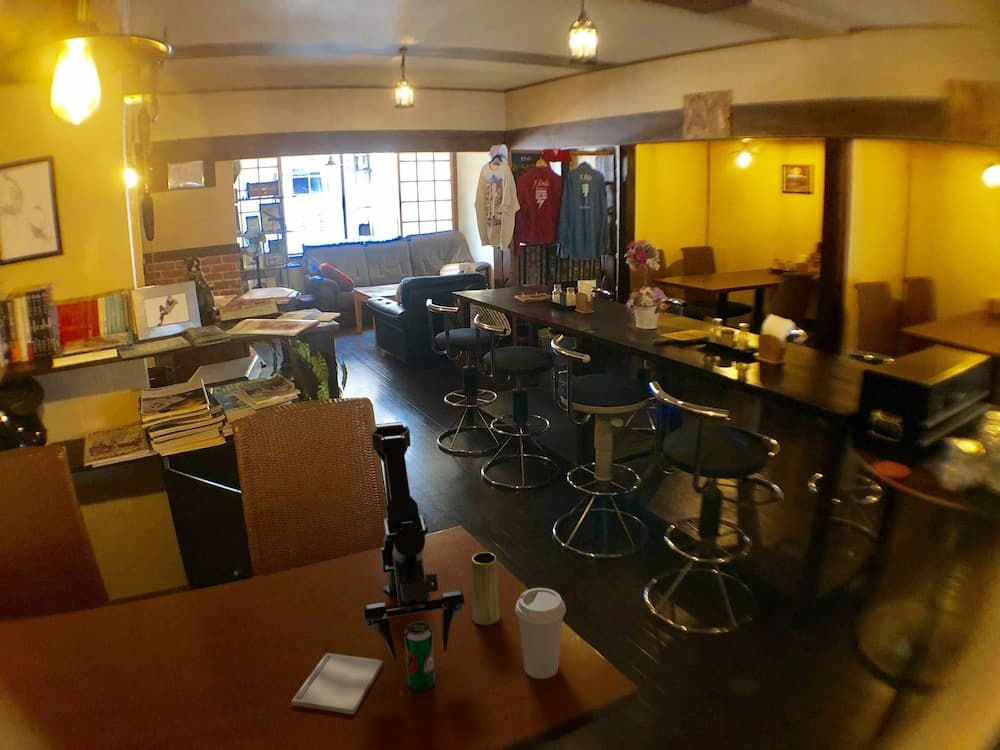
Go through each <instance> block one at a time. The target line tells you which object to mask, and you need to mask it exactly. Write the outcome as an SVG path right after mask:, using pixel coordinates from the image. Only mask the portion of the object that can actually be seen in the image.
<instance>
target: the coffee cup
mask: <svg viewBox="0 0 1000 750" xmlns="http://www.w3.org/2000/svg"><path fill="white" fill-rule="evenodd" d="M514 611H515V614H516V615H517V618H518V623H519V624H518V626H519V633H520V634H519V635H520V641H521V651H522V659H523V667H524V672H525V673H526V674H527V675H528V676H529V677H531V678H534V679H538V680H545V679H549V678H552V677H554V676H555V675H557V672H558V671H559V662H560V653H561V652H560V651H561V641H562V640H561V638H562V632H563V631H562V630H563V628H562V627H563V619H564V615H565V614H566V611H567V609H566V604H565V602H564V600H563V599H562V597H561V595H560V594H559V593H558V592H557V591H555V590H553V589H550V588H547V587H534V588H529V589H527V590H525V591H524V592H522V593H521V594H520V596H519V598H518V600H517V602H516V604H515V607H514Z"/></svg>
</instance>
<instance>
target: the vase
mask: <svg viewBox="0 0 1000 750" xmlns="http://www.w3.org/2000/svg"><path fill="white" fill-rule="evenodd" d="M497 566H498V564H497V556H496V555H495V554H494V553H493V552H489V551H480V552H478V553H475V554H473V555H472V557H471V582H472V583H471V587H472V588H471V589H472V614H471V615H472V616H471V619H472V621H473V622H474V623H475V624H478V625H480V626H489V625H491V626H492V625H494V624H496V623H497V622H499V621H500V618H501V614H500V605H499V593H498V592H499V587H498V568H497Z"/></svg>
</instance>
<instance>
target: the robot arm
mask: <svg viewBox="0 0 1000 750" xmlns="http://www.w3.org/2000/svg"><path fill="white" fill-rule="evenodd" d="M370 437H371V445H372V449H373V450H374V451H375V453H376V454H377V455H378V456H379V459H381V461H382V463H383V471H384V472H383V473H384V481H385V483H384V484H385V485H384V486H385V493H386V497H385V498H386V517H384V518H383V527H384V536H383V546H381V547H380V558H381V566H382V573H383V574H385V573H387V579H388V584H387V585H386V586H383V589H382V590H383V591H385V592H386V593H387V594H389V595H391V596H392V597H394V598H395V599H397V604H398V605H394V606H386V603H385V602H377V603H372V604H366V605H365V607H364V608H363V616H364V617H363V618H364V626H365V627H372V630H373V631H375V630H376V631H377V630H378V632H379V634H380V635H381V637H382V638H383V640H384V642H385V644H386V645H387V649H388V650H389V652H390V654H391V657H392V659H393V661H397V654H396V653H397V652H396V648H395V647H396V646H395V642H394V639H393V635H392V629H391V625H390V619H389V618H393V617H395V618H396V617H401V616H406V615H413V614H418V613H425V612H433V611H438V610H441V612H442V613H441V617H440V621H441V643H442V645H441V646H442V650H443V652H444V653H445V652H447V648H448V647H447V646H448V640H449V635H450V626H451V624H452V623H451V622H452V619H453V618H456V617H457V615H458V613H459V612H461V611H462V612H463V609H464V608H465V605H466V602H465V595H464V593H463V592H462V591H460V590H456V591H450V592H444V593H442V594H441V597H440V598H438V599H432V600H429V599H430V597H431V596H430V593H431V592H432V593H434V592H438V591H439V584H438V578H437V573H436V572H434V573H425V567H424V559H423V555H424V551H425V545H426V538H425V537H426V535H427V533H429V526H428V524H427V521H426V518H425V517H424V516H423V514H422V513H420V511H419V507H418V503H417V501H416V500H415V499H414V498H413V497H412V496H411V491H410V485H409V484H410V483H409V478H408V477H409V476H408V470H407V463H406V459H405V458H406V456H405V455H406V453H407V451H408V448H409V447H411V446H412V445H411V444H412V443H411V430H410V428H409V426H408V425H407V426H406V425H404V423H403V422H402V421H397V422H386V423H378V424H377V423H376V424H375V429H370Z"/></svg>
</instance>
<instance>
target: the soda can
mask: <svg viewBox="0 0 1000 750" xmlns="http://www.w3.org/2000/svg"><path fill="white" fill-rule="evenodd" d="M433 641H434V640H433V630H432V628H431V627H430V624H429V623H428V622H426V621H422V620H420V621H419V620H418V621H412V622H411V623H409V624H408V625H407V626H406V629H405V631H404V643H405V644H404V645H405V659H406V660H405V661H406V675H407V677H406V678H407V685H408V687H410V689H412V690H413V691H417V692H424V691H426V690H428V689H430V688H431V687H432V686H433V685H434V684H435V681H436V677H435V675H436V674H435V660H434V657H435V656H434V644H433V643H434V642H433Z"/></svg>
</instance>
